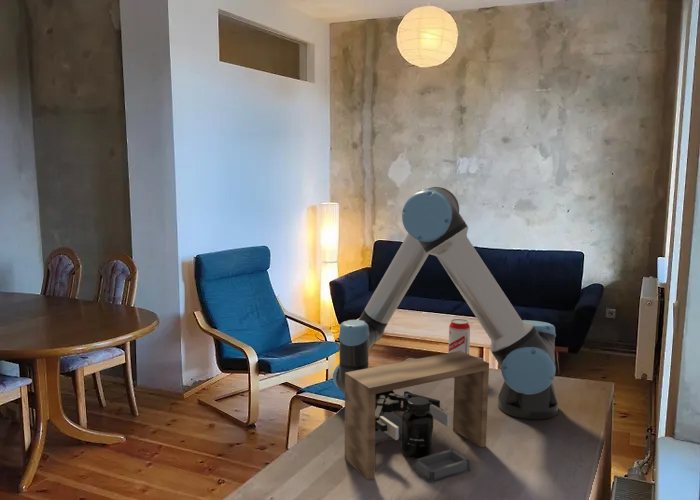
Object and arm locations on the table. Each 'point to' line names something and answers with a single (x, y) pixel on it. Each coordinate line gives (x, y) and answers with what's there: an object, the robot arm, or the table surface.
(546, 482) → the table surface
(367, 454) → the bridge
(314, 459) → the table surface
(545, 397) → the robot arm
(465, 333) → the beer can
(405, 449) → the supplement bottle
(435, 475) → the trap tray
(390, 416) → the coaster
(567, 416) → the table surface
